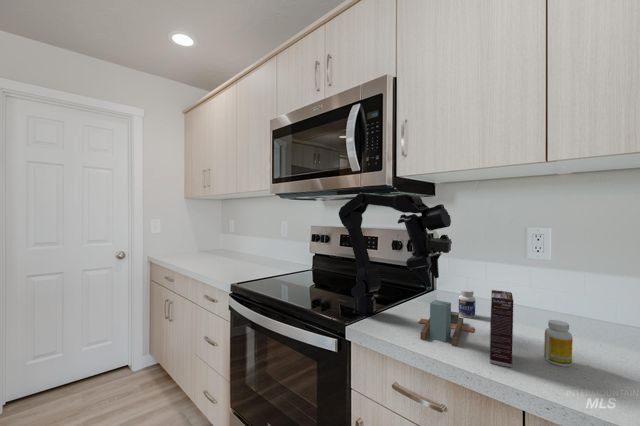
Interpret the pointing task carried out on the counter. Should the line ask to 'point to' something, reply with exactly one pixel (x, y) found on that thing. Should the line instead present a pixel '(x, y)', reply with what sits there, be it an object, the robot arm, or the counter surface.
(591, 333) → the counter surface
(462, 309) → the pill bottle
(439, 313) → the block
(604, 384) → the counter surface
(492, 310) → the supplement box
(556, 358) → the supplement bottle
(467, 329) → the guide channel
